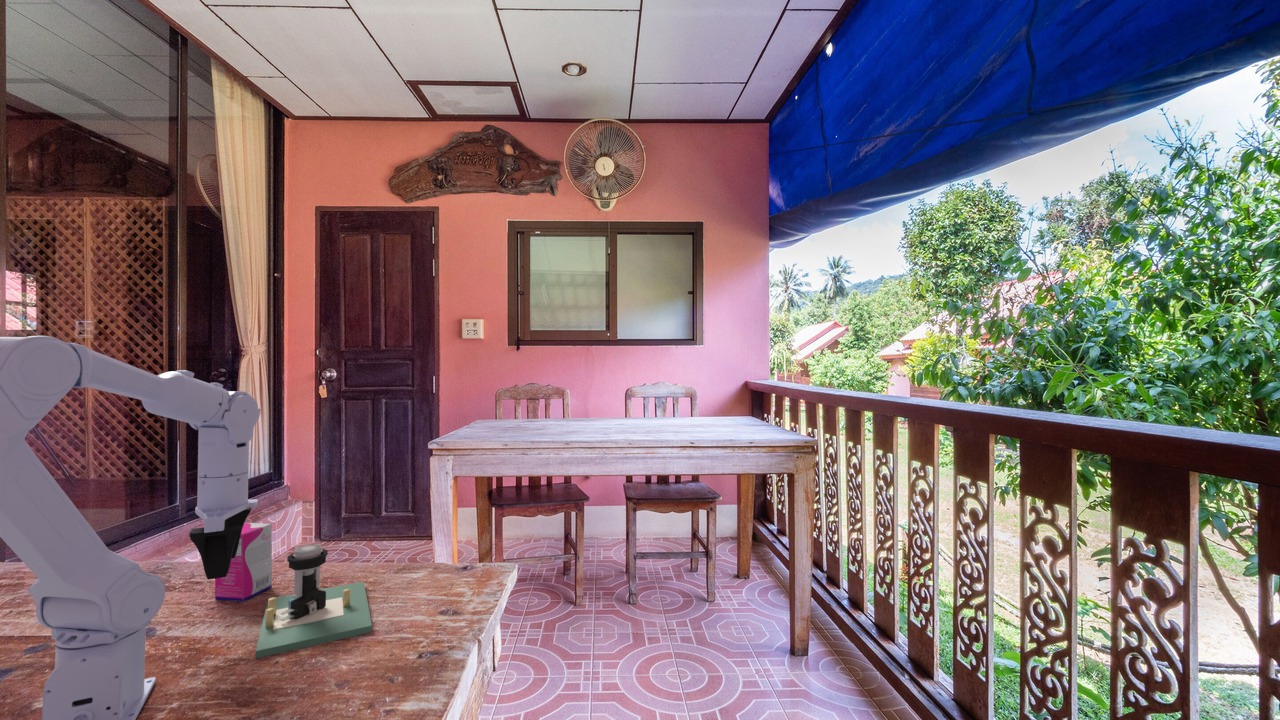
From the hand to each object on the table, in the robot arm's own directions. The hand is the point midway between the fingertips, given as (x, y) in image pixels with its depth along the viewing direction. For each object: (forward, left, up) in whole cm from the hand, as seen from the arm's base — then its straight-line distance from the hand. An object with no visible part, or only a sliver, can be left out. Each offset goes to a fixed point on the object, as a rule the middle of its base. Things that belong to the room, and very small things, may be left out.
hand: (222, 567), depth 75 cm
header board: (+1, -12, -10) cm, 16 cm away
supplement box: (+17, -1, -11) cm, 20 cm away
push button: (+1, -10, -10) cm, 14 cm away
